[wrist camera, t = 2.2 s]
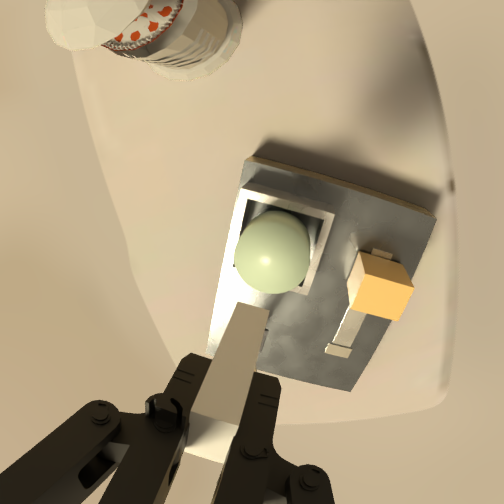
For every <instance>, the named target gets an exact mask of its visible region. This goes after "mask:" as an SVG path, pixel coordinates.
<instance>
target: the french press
mask: <svg viewBox="0 0 504 504" xmlns="http://www.w3.org/2000/svg"><path fill="white" fill-rule="evenodd" d="M45 19H46V29H47V31H48V32H49V34H50V36H51V37H52V39H53V40H54V42H55V44H57V45H59V46H61V47H63V48H66V49H68V50H70V51H78V50H86V49H94V48H96V47H98V46H99V45H101V46H104V47H106V48H108V49H109V50H110V51H112V52H114V53H115V54H117V55H120V56H124V57H127V56H125V55H124V54H127V55H128V56H129V57H128V58H130V57H131V58H132V59H135V60H140V61H144V60H145V61H144V62H147V64H148V65H149V66H150V68H151V69H152V70H153V71H154V72H155V73H157V74H159V75H161V76H163V77H165V78H167V79H169V80H177V81H192V80H195V79H198V78H201V77H204V76H208V75H210V74H212V73H213V72H214V71H215V70H217V69H218V68H219V67H221V66H222V65H223V64H225V63H226V62H227V61H228V60H229V58H230V57H231V55H232V54H233V52H234V51H235V49H236V48H237V46H238V45H239V41H240V36H241V31H242V26H243V23H242V20H241V16H240V12H239V9H238V6H237V5H236V4H235V3H234V2H233V1H232V0H47V3H46V7H45ZM123 53H124V54H123ZM132 55H133V56H135V57H137V58H134V57H133V56H132ZM140 57H141V58H140Z"/></svg>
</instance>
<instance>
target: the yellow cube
mask: <svg viewBox="0 0 504 504" xmlns="http://www.w3.org/2000/svg"><path fill="white" fill-rule="evenodd" d="M347 288H348V296H349V303H350V309H352V310H356V311H360V312H364V313H367V314H371V315H375V316H379V317H383V318H387V319H391V320H394V321H398V320H399V318H400V316H401V314H402V312H403V310H404V308H405V306H406V304H407V302H408V300H409V298H410V296H411V294H412V292H413V290H414V286H413V284H412V282H411V280H410V278H409V276H408V274H407V272H406V270H405V268H404V266H403V264H400V263H397V262H393V261H390V260H387V259H384V258H380V257H377V256H374V255H370V254H367V253H364V252H360V251H359V252H358V255H357V258H356V260H355V263H354V266H353V268H352V271H351V273H350V276H349V278H348V281H347Z"/></svg>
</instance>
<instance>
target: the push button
mask: <svg viewBox="0 0 504 504" xmlns="http://www.w3.org/2000/svg"><path fill="white" fill-rule="evenodd" d="M310 246H311V243H310V236H309V233H308V231H307V229H306V227H305V225H304V224H303V223H302V222H301V221H300V220H299V219H298V218H296V217H295V216H293V215H291V214H289V213H287V212H283V211H268V212H264V213H261V214H259V215H258V216H256V217H255V218H253V219H252V220H251V221H250V223H249V224H248V225H247V227H246V229H245V230H244V232H243V233H242V235H241V237H240V238H239V240H238V241H237V243H236V246H235V249H234V265H235V268H236V270H237V273H238V274H239V276H240V277H241V279H242V280H243V281H244V282H245V283H246V284H247V285H249V286H250V287H252V288H253V289H255V290H257V291H260V292H263V293H269V294H279V293H284V292H287V291H290V290H292V289H294V288H295V287H296V286H298V285H299V284H300V283H301V282H302V281H303V279H304V278H305V276H306V274H307V272H308V269H309V262H310Z"/></svg>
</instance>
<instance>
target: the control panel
mask: <svg viewBox="0 0 504 504" xmlns="http://www.w3.org/2000/svg"><path fill="white" fill-rule="evenodd" d="M268 211H283V212H287V213H289V214H291V215H293V216H295V217H296V218H298V219H299V220H300V221H301V222H302V223H303V224H304V225H305V227H306V229H307V231H308V233H309V236H310V243H311V246H310V262H309V269H308V272H307V274H306V276H305V278H304V279H303V281H302V282H301V283H300V284H299V285H298V286H296V287H295V288H294V289H292V290H290V291H287V292H284V293H279V294H269V293H263V292H260V291H257V290H255V289H253V288H252V287H250V286H249V285H247V284H246V283H245V282H244V281H243V280H242V279H241V277H240V276H239V274H238V273H237V270H236V268H235V265H234V249H235V246H236V243H237V241H238V240H239V238H240V237H241V235H242V233H243V232H244V230H245V229H246V227H247V225H248V224H249V223H250V221H251V220H252V219H253V218H255V217H256V216H258V215H259V214H261V213H264V212H268ZM436 220H437V219H436V218H435V217H434V216H433V215H432V214H431V213H430V212H429V211H428V210H427V209H425V208H423V207H420V206H417V205H415V204H412V203H409V202H406V201H403V200H401V199H398V198H395V197H392V196H389V195H386V194H383V193H380V192H377V191H374V190H371V189H368V188H365V187H362V186H359V185H356V184H352V183H349V182H346V181H343V180H340V179H336V178H333V177H330V176H326V175H323V174H319V173H316V172H312V171H309V170H305V169H302V168H298V167H294V166H291V165H287V164H283V163H279V162H275V161H272V160H268V159H264V158H260V157H256V156H251V157H249V158H247V159H246V160H245V161H244V166H243V170H242V175H241V179H240V184H239V189H238V193H237V198H236V203H235V207H234V212H233V217H232V222H231V226H230V231H229V236H228V241H227V246H226V251H225V256H224V261H223V266H222V271H221V276H220V281H219V286H218V291H217V296H216V301H215V306H214V312H213V317H212V322H211V328H210V333H209V338H208V344H207V349H206V354H208V355H211V356H214V355H215V353H216V351H217V348H218V346H219V344H220V341H221V339H222V337H223V334H224V332H225V330H226V327H227V325H228V323H229V320H230V318H231V316H232V314H233V311H234V309H235V307H236V304H237V302H238V301H239V302H242V303H245V304H249V305H252V306H256V307H259V308H263V309H266V310H270V311H269V315H268V319H267V323H266V327H265V331H264V335H263V339H262V342H261V346H260V350H259V354H258V358H257V361H256V367H257V369H258V370H261V371H265V372H268V373H272V374H276V375H280V376H284V377H287V378H291V379H295V380H299V381H304V382H308V383H312V384H316V385H321V386H325V387H330V388H334V389H339V390H344V391H349V392H351V390H352V389H353V387H354V385H355V384H356V382H357V380H358V379H359V377H360V376H361V374H362V372H363V371H364V369H365V367H366V365H367V364H368V362H369V360H370V359H371V357H372V355H373V353H374V352H375V350H376V348H377V346H378V344H379V343H380V341H381V339H382V337H383V335H384V334H385V332H386V330H387V328H388V326H389V324H390V322H391V319H387V318H383V317H379V316H375V315H371V314H367V313H364V312H360V311H356V310H352V309H350V303H349V296H348V288H347V281H348V278H349V276H350V273H351V271H352V268H353V266H354V263H355V260H356V258H357V255H358V252H359V251H360V252H364V253H367V254H370V255H374V256H377V257H380V258H384V259H387V260H390V261H393V262H397V263H400V264H403V266H404V268H405V270H406V272H407V274H408V276H409V278H410V280H411V279H412V277H413V275H414V273H415V270H416V268H417V266H418V264H419V261H420V259H421V257H422V254H423V252H424V250H425V247H426V245H427V242H428V240H429V238H430V235H431V232H432V230H433V227H434V225H435V222H436Z"/></svg>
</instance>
